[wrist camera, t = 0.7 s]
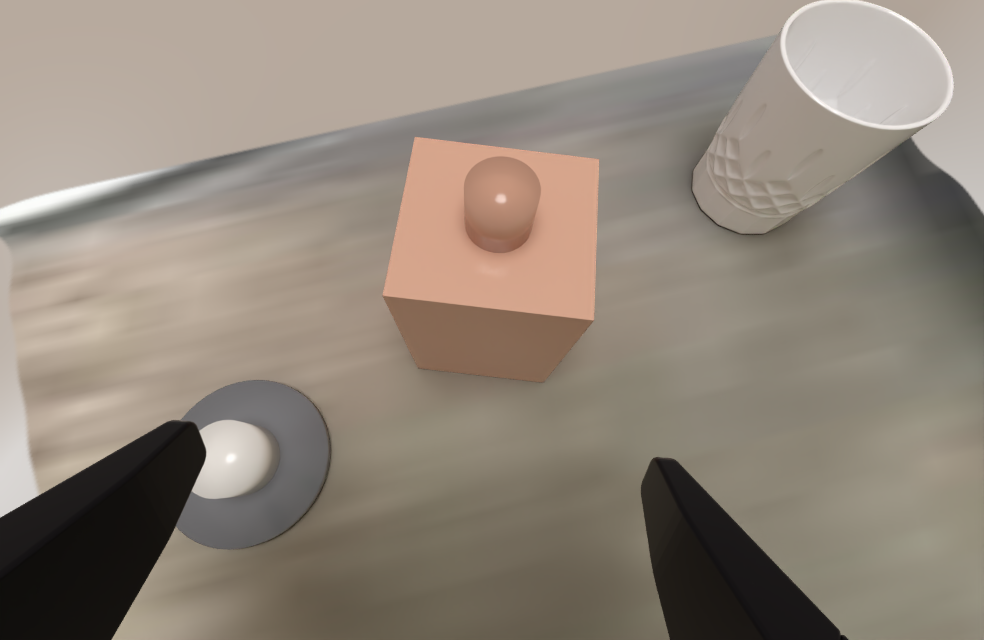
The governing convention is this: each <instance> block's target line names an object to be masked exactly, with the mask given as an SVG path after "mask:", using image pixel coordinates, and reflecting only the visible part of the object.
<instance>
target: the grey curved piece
mask: <svg viewBox="0 0 984 640" xmlns="http://www.w3.org/2000/svg"><path fill="white" fill-rule="evenodd" d="M222 420H235V421H240V422H244V423H249V424H253V425H258V426H261V427H264V428H266V429H267V430H269V431H270V432H271V433H272V434H273V435H274V436H275V438H276V440H277V442H278V444H279V448H280V461H279V465H278V468H277V470H276V472H275V474H274V476H273V477H272V479H271V480H270V481H269V482H268V483H267V484H266V485H265V486H264V487H263V488H262V489H260V490H259V491H257V492H255V493H253V494H250V495H246V496H240V497H230V498H220V499H208V498H203V497H201V496H198V495H197V494H195V493H194V492H192V491H191V494H190V496H189V498H188V500H187V502H186V505H185V507H184V509H183V511H182V513H181V516H180V518H179V520H178V522H177V524H176V527H177V528H178V529H179V530H180V531H181V532H182V533H183V534H185V535H186V536H187V537H188V538H190V539H192V540H194V541H195V542H197V543H200V544H202V545H205V546H207V547H212V548H217V549H240V548H245V547H250V546H254V545H257V544H260V543H263V542H265V541H268V540H270V539H272V538H274V537H276V536H278V535H280V534H282V533H283V532H285V531H286V530H288V529H289V528H291V527H292V526H293V525H294V524H295V523H297V522H298V521H299V520H300V519H301V518H302V517H303V516H304V515H305V514H306V512H307V511H308V510H309V509H310V507H311V506H312V505H313V503H314V502H315V500H316V499H317V497H318V495H319V493H320V492H321V489H322V487H323V485H324V482H325V480H326V476H327V473H328V469H329V463H330V452H331V448H330V438H329V433H328V429H327V426H326V424H325V421H324V419H323V417H322V415H321V413H320V412H319V410H318V409H317V408H316V406H315V405H314V404H313V403H312V402H311V401H310V400H309V399H308V398H307V397H306V396H304V395H303V394H301V393H300V392H298V391H296V390H294V389H292V388H290V387H288V386H286V385H283V384H280V383H277V382H272V381H265V380H251V381H243V382H238V383H235V384H231V385H228V386H225V387H223V388H221V389H219V390H216V391H215V392H213V393H211V394H210V395H208V396H206V397H205V398H204V399H202V400H201V401H199V402H198V403H197V404H196V405H195V406H194V407H193V408H191V409H190V410H189V411H188V412H187V414H186V415H185V416H184V417H183V418H182V419H181V421H192V422H194V423H195V424H196V425H197V427H198V429H199V431H200V430H201V429H203V428H204V427H206V426H207V425H209V424H212V423H214V422H217V421H222Z"/></svg>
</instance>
